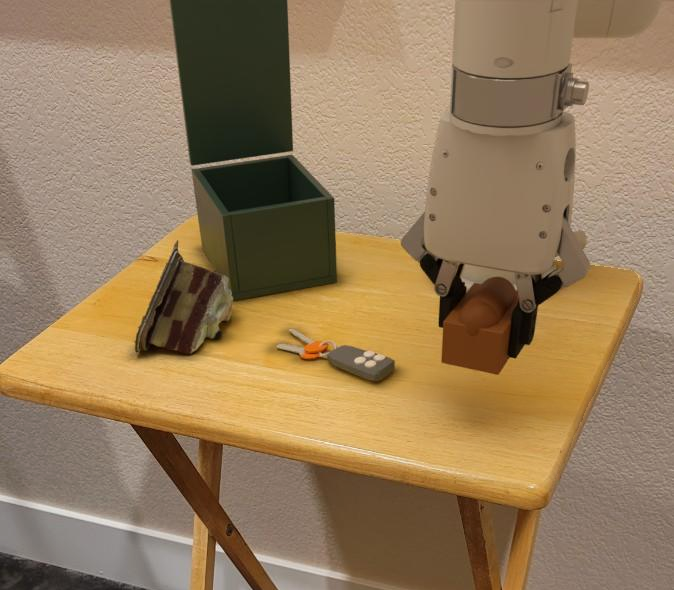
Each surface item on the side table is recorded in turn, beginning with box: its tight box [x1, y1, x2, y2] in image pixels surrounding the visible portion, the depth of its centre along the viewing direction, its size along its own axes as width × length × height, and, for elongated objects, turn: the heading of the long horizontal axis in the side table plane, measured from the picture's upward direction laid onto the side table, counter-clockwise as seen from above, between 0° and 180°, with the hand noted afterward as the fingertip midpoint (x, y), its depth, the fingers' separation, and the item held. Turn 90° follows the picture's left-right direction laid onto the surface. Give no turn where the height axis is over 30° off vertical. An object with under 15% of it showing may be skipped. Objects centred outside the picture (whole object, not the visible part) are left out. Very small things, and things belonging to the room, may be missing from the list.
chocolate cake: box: [134, 239, 234, 355], centre depth 87 cm, size 10×7×12 cm
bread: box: [440, 277, 519, 376], centre depth 70 cm, size 5×7×5 cm, turn 154°
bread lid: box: [169, 0, 294, 167], centre depth 93 cm, size 16×12×6 cm
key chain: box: [276, 328, 396, 382], centre depth 82 cm, size 13×4×2 cm, turn 52°
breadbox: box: [191, 154, 338, 302], centre depth 95 cm, size 15×12×9 cm
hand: (484, 341), depth 71 cm, fingers closed on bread, 4 cm apart
